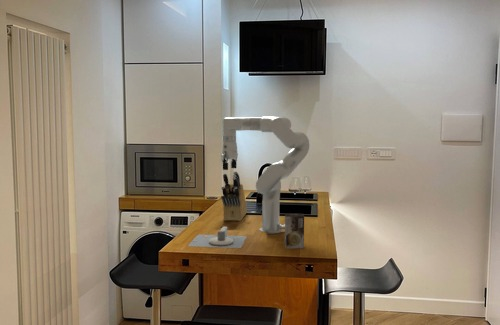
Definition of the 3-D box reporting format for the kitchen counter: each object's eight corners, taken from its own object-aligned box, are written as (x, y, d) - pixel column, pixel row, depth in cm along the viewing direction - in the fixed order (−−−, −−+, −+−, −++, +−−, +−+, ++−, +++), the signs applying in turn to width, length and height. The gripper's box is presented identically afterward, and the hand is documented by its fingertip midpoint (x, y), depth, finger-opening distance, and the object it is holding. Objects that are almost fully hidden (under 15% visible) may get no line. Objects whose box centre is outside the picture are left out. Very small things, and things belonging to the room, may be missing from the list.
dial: (231, 245, 245) (231, 235, 244) (207, 244, 246) (207, 234, 246) (236, 236, 263) (236, 227, 262) (213, 236, 264) (213, 226, 264)
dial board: (246, 239, 265) (246, 235, 265) (240, 251, 242) (240, 247, 241) (198, 237, 268) (198, 234, 268) (187, 249, 244) (187, 245, 244)
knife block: (219, 224, 301) (219, 172, 298) (230, 212, 336) (230, 166, 333) (238, 224, 299) (238, 172, 296) (247, 213, 334) (247, 166, 331)
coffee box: (302, 245, 254) (303, 213, 252) (304, 248, 248) (304, 216, 246) (284, 245, 254) (284, 213, 252) (285, 248, 247) (286, 215, 246)
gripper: (227, 140, 281) (227, 170, 282) (242, 138, 296) (242, 167, 298) (216, 139, 284) (216, 170, 286) (231, 138, 299) (231, 167, 301)
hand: (229, 168), depth 292 cm, fingers open, 9 cm apart
